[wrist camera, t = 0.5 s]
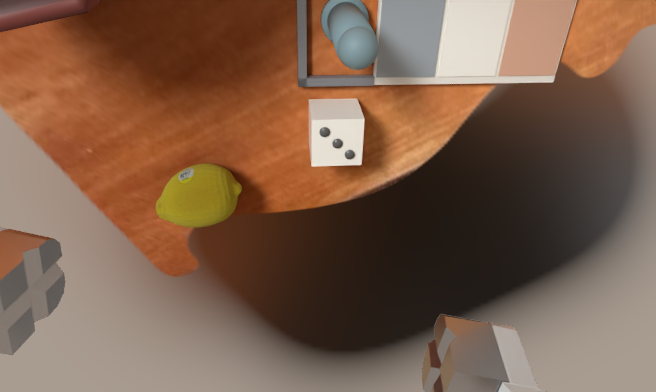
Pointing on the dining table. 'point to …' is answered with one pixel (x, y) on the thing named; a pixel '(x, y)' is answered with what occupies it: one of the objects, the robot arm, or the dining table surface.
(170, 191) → the lemon
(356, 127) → the die
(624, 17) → the dining table surface
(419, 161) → the dining table surface
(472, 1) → the game board
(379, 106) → the dining table surface
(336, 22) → the pawn
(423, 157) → the dining table surface
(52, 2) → the bucket
